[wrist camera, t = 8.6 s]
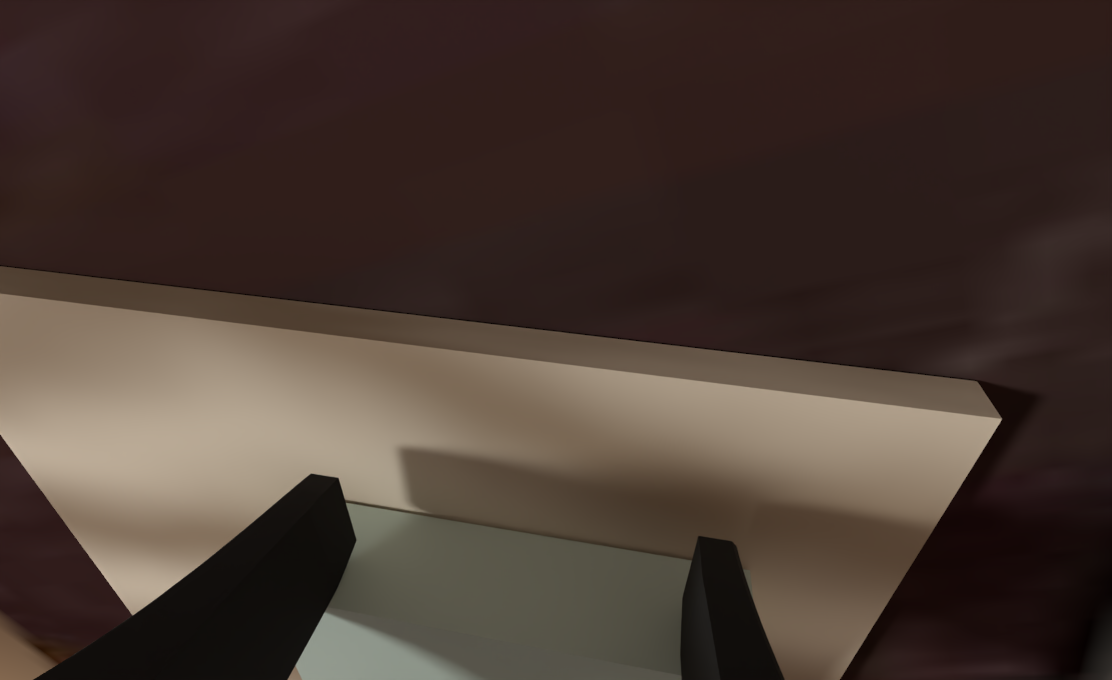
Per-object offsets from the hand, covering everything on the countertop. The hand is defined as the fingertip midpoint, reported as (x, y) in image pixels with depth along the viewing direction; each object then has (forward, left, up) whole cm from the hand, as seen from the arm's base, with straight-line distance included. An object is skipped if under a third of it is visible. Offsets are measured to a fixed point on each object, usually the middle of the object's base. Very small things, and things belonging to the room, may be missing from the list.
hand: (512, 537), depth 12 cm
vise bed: (-5, +3, -2) cm, 6 cm away
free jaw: (-4, 0, -1) cm, 4 cm away
